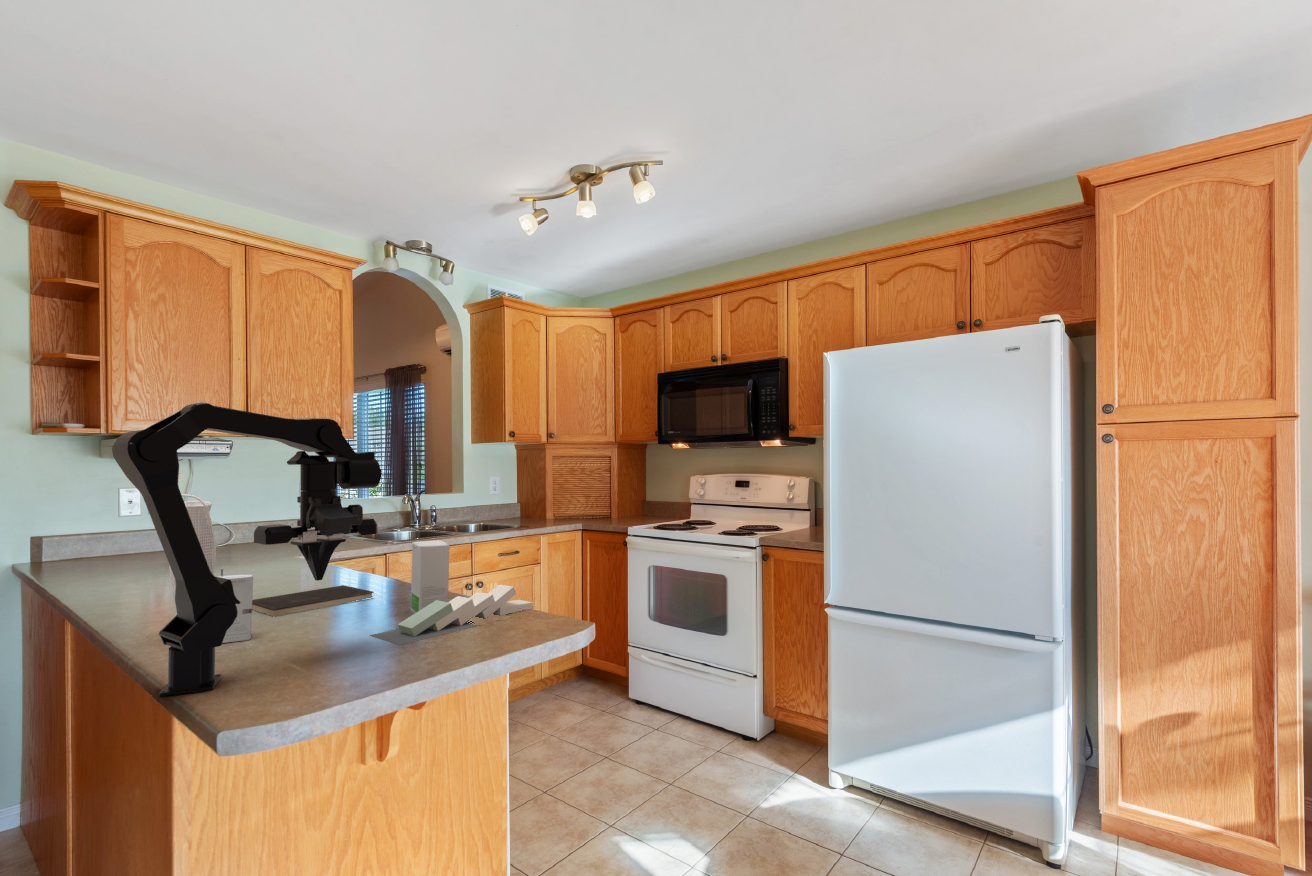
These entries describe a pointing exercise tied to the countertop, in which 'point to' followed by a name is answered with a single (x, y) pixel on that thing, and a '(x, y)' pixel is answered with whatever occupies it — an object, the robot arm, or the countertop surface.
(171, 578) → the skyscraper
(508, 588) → the domino
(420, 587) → the skincare box
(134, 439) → the robot arm
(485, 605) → the domino
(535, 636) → the countertop surface
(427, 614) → the domino
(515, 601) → the domino
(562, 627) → the countertop surface
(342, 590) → the hardcover book
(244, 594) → the skincare box
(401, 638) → the mat
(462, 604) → the domino
